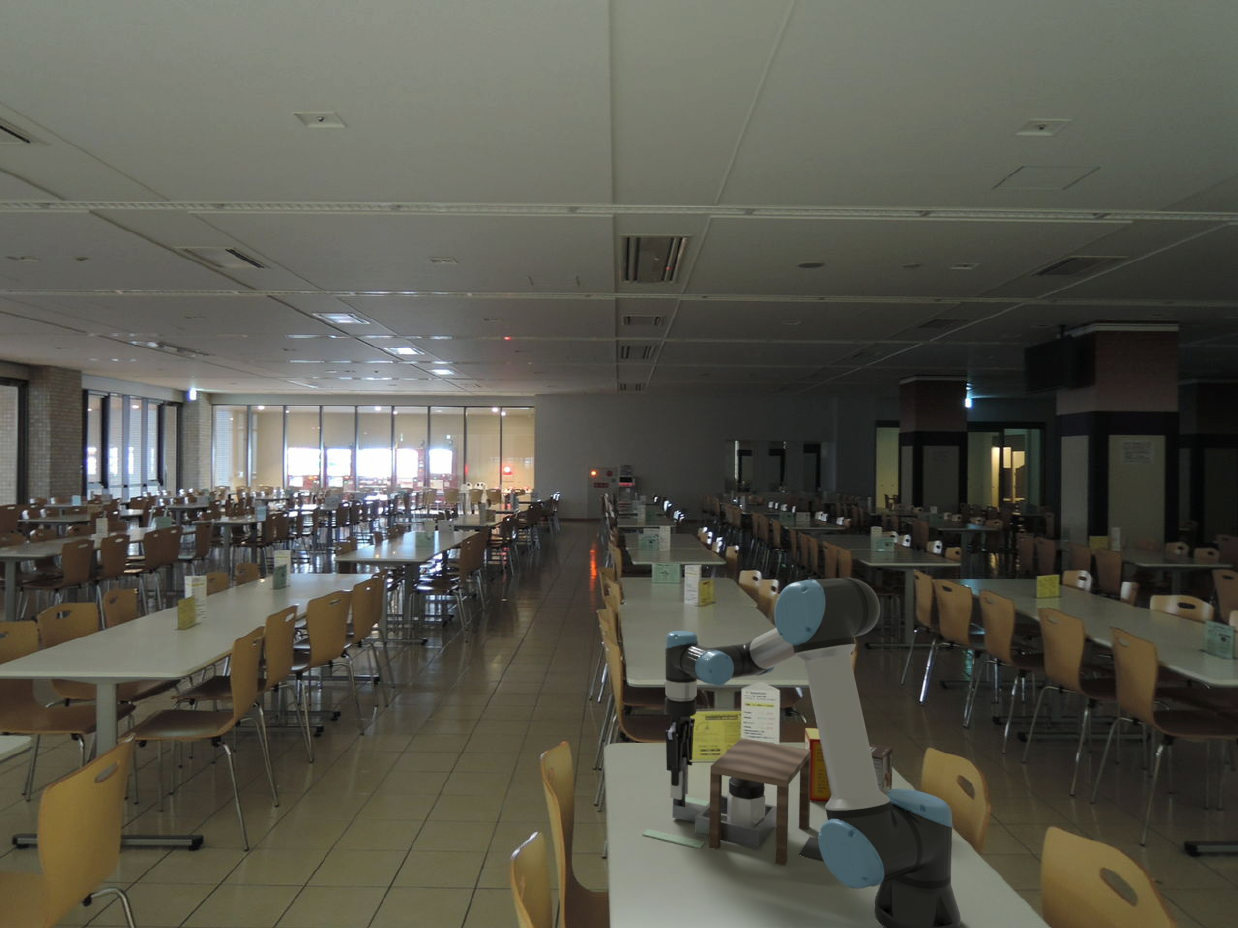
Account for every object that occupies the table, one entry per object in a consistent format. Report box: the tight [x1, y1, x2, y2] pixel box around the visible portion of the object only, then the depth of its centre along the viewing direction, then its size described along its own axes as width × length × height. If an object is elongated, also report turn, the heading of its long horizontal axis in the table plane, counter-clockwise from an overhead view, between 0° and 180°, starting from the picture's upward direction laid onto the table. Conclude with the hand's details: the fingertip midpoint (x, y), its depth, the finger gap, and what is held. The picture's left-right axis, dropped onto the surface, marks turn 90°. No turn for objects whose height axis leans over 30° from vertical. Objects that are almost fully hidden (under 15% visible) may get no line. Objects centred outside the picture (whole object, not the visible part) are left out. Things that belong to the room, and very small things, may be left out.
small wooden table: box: [708, 737, 811, 866], centre depth 188 cm, size 22×17×18 cm
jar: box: [726, 777, 766, 828], centre depth 190 cm, size 9×8×12 cm
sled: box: [672, 755, 777, 850], centre depth 193 cm, size 15×24×14 cm, turn 64°
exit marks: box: [641, 796, 710, 850], centre depth 196 cm, size 25×14×1 cm, turn 154°
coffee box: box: [869, 743, 894, 796], centre depth 201 cm, size 9×6×16 cm
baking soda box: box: [804, 727, 831, 803], centre depth 214 cm, size 10×6×16 cm
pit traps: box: [798, 836, 824, 862], centre depth 181 cm, size 10×14×1 cm
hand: (679, 795), depth 197 cm, fingers closed on sled, 3 cm apart
